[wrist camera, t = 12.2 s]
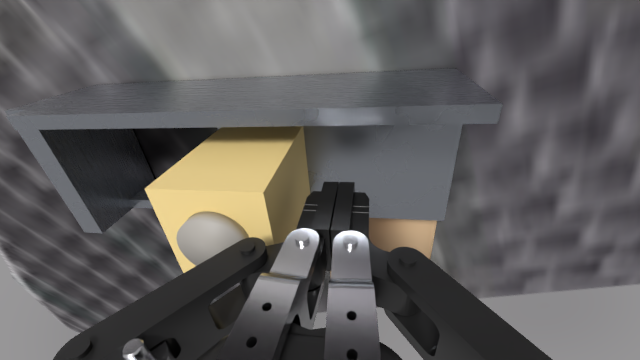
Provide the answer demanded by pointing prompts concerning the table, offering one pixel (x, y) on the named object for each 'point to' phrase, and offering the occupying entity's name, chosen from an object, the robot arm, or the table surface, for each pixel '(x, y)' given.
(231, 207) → the yellow block with dome
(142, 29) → the table surface
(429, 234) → the pad
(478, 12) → the table surface
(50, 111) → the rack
